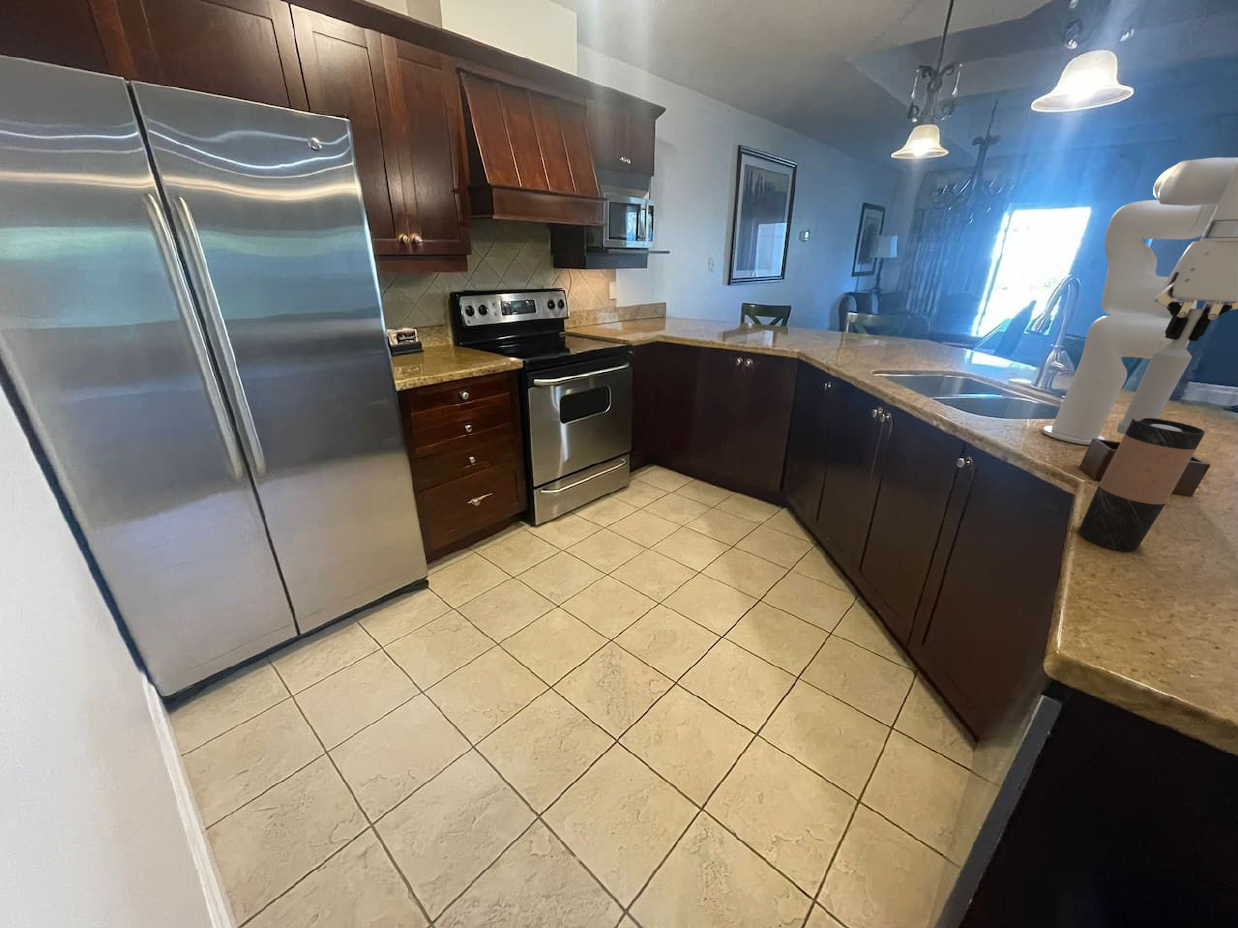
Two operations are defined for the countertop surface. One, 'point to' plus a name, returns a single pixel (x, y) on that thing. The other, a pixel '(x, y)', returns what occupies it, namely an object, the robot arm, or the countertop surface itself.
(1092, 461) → the dark brown box
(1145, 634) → the countertop surface
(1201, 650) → the countertop surface
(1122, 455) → the travel mug
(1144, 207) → the robot arm
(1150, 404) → the bottle
